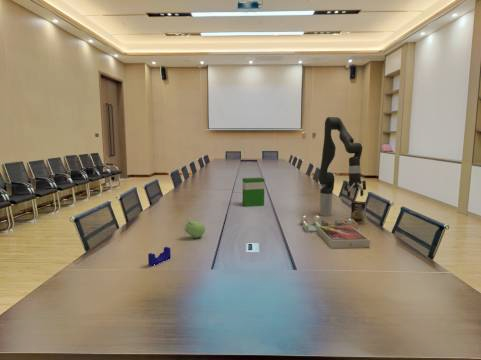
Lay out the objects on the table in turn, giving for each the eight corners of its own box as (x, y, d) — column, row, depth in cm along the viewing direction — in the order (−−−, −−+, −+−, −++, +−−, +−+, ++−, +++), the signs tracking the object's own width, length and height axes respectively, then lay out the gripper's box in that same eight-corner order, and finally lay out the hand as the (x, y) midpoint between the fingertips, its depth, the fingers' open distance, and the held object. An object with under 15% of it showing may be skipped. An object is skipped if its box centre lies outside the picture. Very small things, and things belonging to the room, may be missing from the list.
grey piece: (302, 227, 225) (302, 219, 224) (355, 227, 225) (356, 219, 224) (305, 232, 214) (305, 223, 214) (361, 232, 214) (361, 223, 213)
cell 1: (299, 223, 235) (300, 214, 234) (306, 223, 234) (306, 214, 233) (300, 225, 230) (301, 215, 229) (307, 225, 230) (307, 215, 229)
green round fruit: (196, 233, 211) (196, 216, 209) (207, 237, 203) (207, 220, 201) (180, 237, 202) (180, 220, 201) (191, 242, 195) (191, 223, 193)
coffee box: (350, 224, 232) (351, 202, 230) (351, 222, 237) (352, 200, 235) (364, 226, 228) (365, 203, 225) (365, 224, 233) (366, 201, 231)
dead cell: (345, 227, 221) (345, 216, 220) (351, 227, 221) (352, 217, 220) (347, 229, 217) (347, 218, 216) (354, 229, 217) (354, 218, 216)
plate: (325, 225, 222) (325, 224, 222) (334, 225, 222) (334, 224, 222) (327, 227, 216) (327, 226, 216) (337, 227, 216) (337, 226, 216)
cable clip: (164, 257, 171) (163, 246, 171) (170, 259, 169) (170, 247, 168) (146, 265, 161) (146, 253, 160) (153, 267, 159) (152, 255, 158)
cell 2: (312, 224, 233) (313, 214, 232) (319, 224, 233) (319, 214, 232) (314, 225, 229) (314, 216, 228) (320, 225, 229) (321, 216, 228)
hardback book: (261, 203, 299) (261, 177, 296) (264, 205, 292) (264, 178, 289) (242, 205, 294) (242, 178, 291) (245, 206, 287) (245, 179, 284)
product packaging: (331, 249, 185) (332, 240, 184) (317, 233, 213) (317, 226, 212) (369, 248, 186) (370, 239, 185) (350, 233, 214) (350, 225, 213)
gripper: (362, 172, 228) (363, 195, 229) (342, 172, 227) (342, 196, 228) (367, 172, 220) (368, 196, 221) (346, 173, 219) (347, 197, 220)
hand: (355, 196), depth 224 cm, fingers open, 8 cm apart
